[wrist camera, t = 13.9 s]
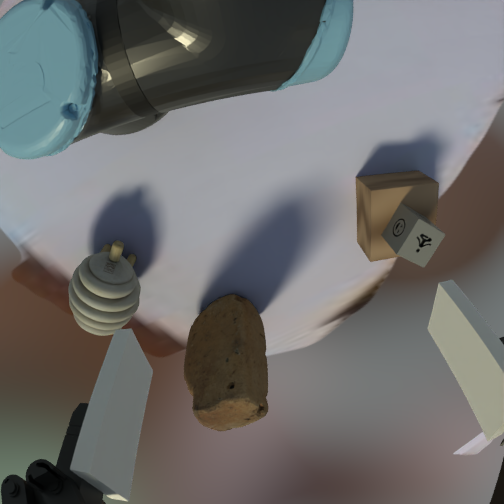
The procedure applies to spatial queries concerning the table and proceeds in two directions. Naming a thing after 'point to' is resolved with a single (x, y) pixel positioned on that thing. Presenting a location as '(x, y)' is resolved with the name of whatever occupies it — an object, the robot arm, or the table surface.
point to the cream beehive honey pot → (104, 291)
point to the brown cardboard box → (390, 206)
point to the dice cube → (412, 235)
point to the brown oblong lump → (227, 364)
